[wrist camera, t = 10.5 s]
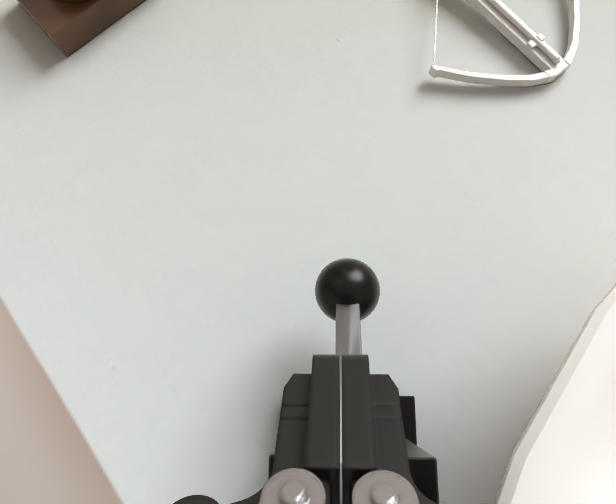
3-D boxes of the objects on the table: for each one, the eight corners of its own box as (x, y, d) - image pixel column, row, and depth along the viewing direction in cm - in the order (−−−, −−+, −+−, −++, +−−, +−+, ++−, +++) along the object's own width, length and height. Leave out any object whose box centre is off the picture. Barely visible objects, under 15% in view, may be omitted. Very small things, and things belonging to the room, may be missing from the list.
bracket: (285, 395, 28) (239, 392, 15) (411, 396, 27) (466, 394, 15) (282, 556, 25) (224, 703, 13) (419, 560, 25) (492, 717, 13)
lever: (317, 292, 27) (315, 245, 25) (376, 292, 26) (378, 245, 24) (303, 590, 16) (295, 549, 14) (403, 594, 16) (411, 553, 14)
